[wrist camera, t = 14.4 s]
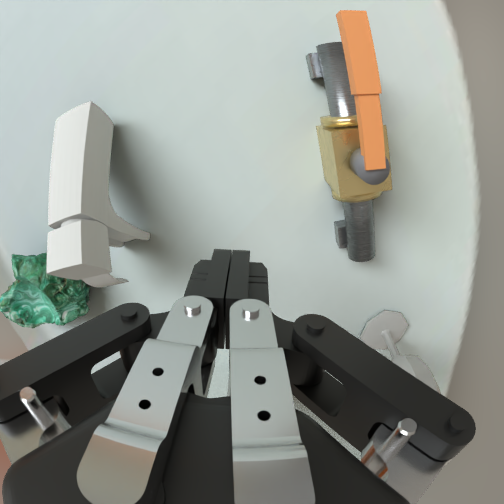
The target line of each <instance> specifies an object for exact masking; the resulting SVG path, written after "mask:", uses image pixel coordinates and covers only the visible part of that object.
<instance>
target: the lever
mask: <svg viewBox="0 0 504 504" xmlns="http://www.w3.org/2000/svg"><path fill="white" fill-rule="evenodd" d="M336 17H337V21H338V26H339V30H340V35H341V40H342V45H343V50H344V55H345V60H346V66H347V72H348V78H349V84H350V90H351V95H354V99H355V106H356V113H357V121H358V130H359V139H360V148H358V149H356V150H355V151H354V152H353V153H352V155H351V157H350V167H351V170H352V171H353V172H354V173H355V174H356V175H357V176H358V177H360V178H361V179H362V180H363V181H365V182H366V183H368V184H370V185H378V184H380V183H382V182H384V181H385V180H386V179H387V177H388V175H389V172H390V164H389V161H388V159H387V157H386V156H385V147H384V135H383V124H382V115H381V107H380V99H379V93H382V92H381V85H380V79H379V72H378V66H377V61H376V55H375V50H374V45H373V40H372V35H371V30H370V26H369V21H368V17H367V13H366V11H352V10H340V11H339V12H338V13H337V14H336Z"/></svg>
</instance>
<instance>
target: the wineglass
mask: <svg viewBox="0 0 504 504" xmlns="http://www.w3.org/2000/svg"><path fill="white" fill-rule="evenodd" d="M407 327H408V323H407V321H406V320H405V318H404V316H403V315H402V313H401V312H395V311H388V310H384V311H382V312H381V313H379V314H378V315H376V316H375V317H373V318H372V319H370V320H369V321H367V323H366V325H365V327H364V329H363V331H362V333H361V335H360V338H361V339H362V340H363V342H364V343H365V344H367V345H368V346H369V347H371V348H372V349H384V350H385V349H386V348H388V349H389V351H390V353H391V356H392V358H393V360H392V362H393V363H395V364H396V365H398V366H399V367H401V368H402V369H404V370H405V371H407V372H408V373H410V374H411V375H413V376H414V377H416V378H417V379H419V380H420V381H422V382H423V383H425V384H426V385H428V386H429V387H431V388H432V389H434V390H435V391H437V392H438V393H440V389H439V386H438V384H437V382H436V380H435V378H434V376H433V374H432V372H431V371H430V369H429V367H428V366H427V365H426V364H425V363H424V362H423V361H422V360H421V359H420V358H419V357H418V356H414V355H400V354H399V352H398V349H397V347H396V345H395V343H396V342H397V341H399V340H400V339H401V337H402V336H403V334H404V332H405V331H406V329H407ZM440 394H441V393H440Z"/></svg>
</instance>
